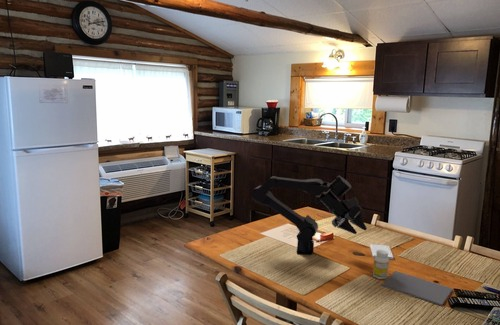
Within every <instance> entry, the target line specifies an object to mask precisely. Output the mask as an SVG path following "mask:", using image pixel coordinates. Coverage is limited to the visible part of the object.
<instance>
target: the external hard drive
mask: <svg viewBox="0 0 500 325" xmlns="http://www.w3.org/2000/svg"><path fill="white" fill-rule="evenodd" d="M369 247H370V251H371V255H372V258H374V257H375V256H376V255H377V254H376V253H377V250H384V251H387V252H388V258H389V260H394V259H395V258H394V255H393V253H392V250H391V247H390V246H389V245H385V244H384V245H383V244H382V245H381V244H370V245H369Z"/></svg>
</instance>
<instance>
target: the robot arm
mask: <svg viewBox="0 0 500 325" xmlns="http://www.w3.org/2000/svg"><path fill="white" fill-rule="evenodd" d="M273 188H282V189H290V190H298V191H302V192H305V193H306V194H309V195H313V196H315V204H318V203H320V202H321V203H322V204H323V205H324V206H325V207H326V208H327V209H328V210H329V211H328V212H329V214H333V215H334V216H335V217H334V218H333V219H332V221H331V225H332V226H333V227H334V228H338V229H340V230H343V231H347V232H348V233H350V234H354V235H356V234H357V233H358V232H357V231H356V229H355V228H354V227H353V225H355V227H358V228H359V229H361V230H363V231H367V229H368V228H367V226H366V224H365V222H364V220H363V218H362V209H363V208H362V207H361V206H360V205H359V200H358V199H357V197H356V196H355V197H352V198H350V199H349V198H346V199H345V200H344V199H339V198H338V197H343V196H344V195H346V193H347V192H348V191H349V190H350V189H352V185H351V184H350V182H349V181H348V180H347V179H345V178H344V177H342V176H341V175H337V176H336V179H334V180H333V181H332V182H327V181H323V180H322V179H321V178H308V179H296V178H288V177H282V176H281V177H279V176H276V175H274V176H271V177H270V178H269V179H268V180H267V181H266V182H264V183H263V184H262V185H258V186H257V187H255V188H253V190H251V194H250V195H251V199H252V200H253V201H255V202H256V203H258V204H260V205H261V204H262V205H264V206H268V207H270V209H272V210H273V211H275V212H277V213H278V214H279V215H280V216H282V217H284V218H285V219H286V220H288V221H290V222H291V223H292V224H293V225H295V227H296V228H297V230H298V233H297V235H296V239H297V246H296V254H297V255H309V256H312V255H313V252H314V249H315V248H314V246H315V245H314V244H315V242H314V239H313V237H315V235H316V234H317V232H318V230H319V224H318V223H317V222H316V219H315V218H312V217H311V216H310V215H309V214H307V215H305V216H302V215H300V213H298V212H296V211H295V210H293V209H292V208H290V207H289V206H288V205H286V204H284V203H283V202H282V201H281V200H279V199H278V198H276V197H275V196H274V195H273V193H272V192H271V190H272V189H273ZM352 224H353V225H352Z"/></svg>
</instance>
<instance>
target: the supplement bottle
mask: <svg viewBox="0 0 500 325" xmlns="http://www.w3.org/2000/svg"><path fill="white" fill-rule="evenodd" d="M376 254H377V255H376V256H375V257H373V268H372V269H373V270H372V276H373V277H374V278H376V279H379V280H386V279H388V278H389V277H388V275H389V265H390V259H389V258H388V252H387V251H384V250H377V253H376Z"/></svg>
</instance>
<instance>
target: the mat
mask: <svg viewBox="0 0 500 325" xmlns="http://www.w3.org/2000/svg"><path fill="white" fill-rule="evenodd" d="M380 284H381V287H385V288H386V289H390V290H394V291H396V292H399V293H402V294H405V295H408V296H411V297H414V298H417V299H419V300H423V301H426V302H429V303H431V304H435V305H438V306H440V307H442V306H443V305H444V303H445V302H446V300H448V297H450V295H451V294H452V292H453V288H452V287H449V286H446V285H443V284H440V283H436V282H433V281H430V280H426V279H423V278H420V277H416V276H414V275H410V274H407V273H403V272H400V271H397V270H395V271H394V272H393V273H392V274H390V275H389V277H387V278H386V279H384V281H383V282H382V283H380Z"/></svg>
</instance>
